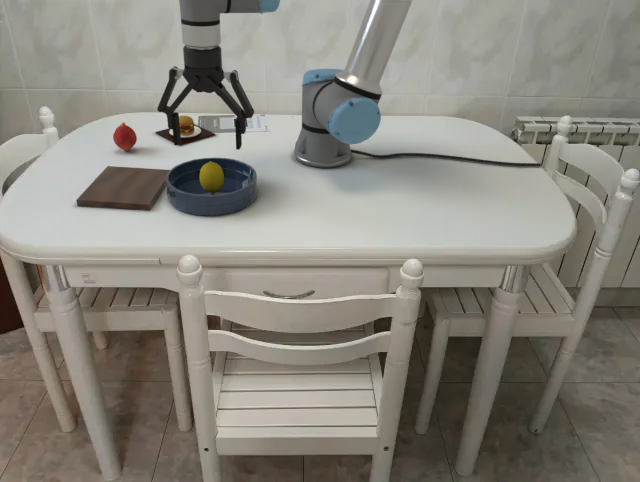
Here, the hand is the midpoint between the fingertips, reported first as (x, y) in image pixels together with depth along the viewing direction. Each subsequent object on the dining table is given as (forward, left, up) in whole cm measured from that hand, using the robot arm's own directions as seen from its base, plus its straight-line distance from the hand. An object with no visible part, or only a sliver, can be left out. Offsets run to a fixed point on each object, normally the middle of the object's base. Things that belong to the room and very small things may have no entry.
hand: (208, 145), depth 123 cm
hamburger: (+16, -36, -13) cm, 41 cm away
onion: (+28, -22, -13) cm, 38 cm away
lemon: (0, 0, -12) cm, 12 cm away
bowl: (0, 0, -12) cm, 12 cm away
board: (+20, 0, -12) cm, 23 cm away
